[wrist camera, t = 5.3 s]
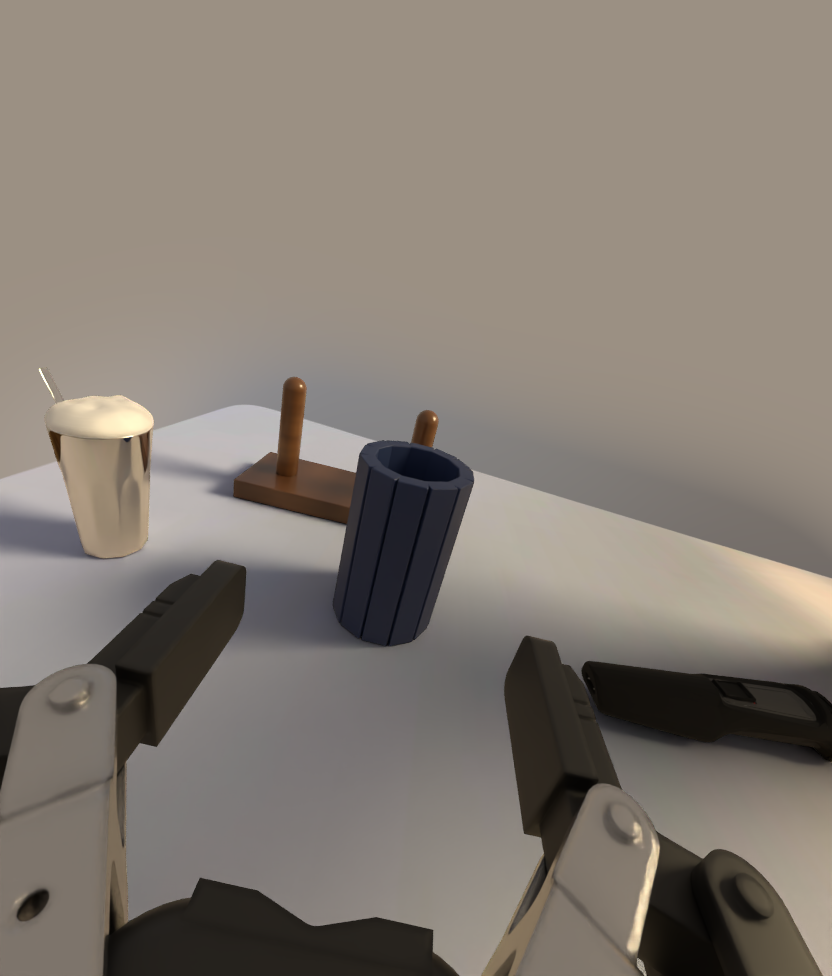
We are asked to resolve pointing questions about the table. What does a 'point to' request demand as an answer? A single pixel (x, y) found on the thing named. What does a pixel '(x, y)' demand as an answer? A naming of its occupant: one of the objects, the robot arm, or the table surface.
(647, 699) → the electric trimmer
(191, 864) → the table surface
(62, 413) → the milkshake
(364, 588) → the navy ribbed cylinder
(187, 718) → the table surface
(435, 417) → the rack
